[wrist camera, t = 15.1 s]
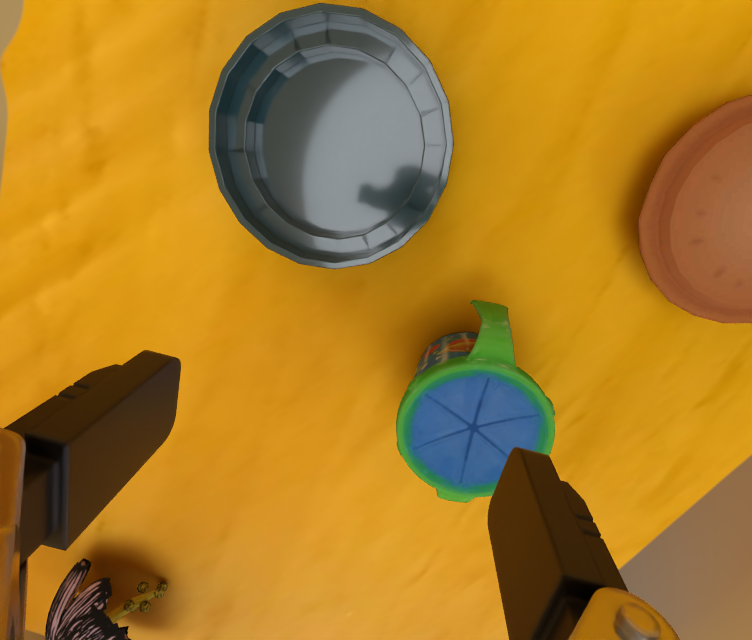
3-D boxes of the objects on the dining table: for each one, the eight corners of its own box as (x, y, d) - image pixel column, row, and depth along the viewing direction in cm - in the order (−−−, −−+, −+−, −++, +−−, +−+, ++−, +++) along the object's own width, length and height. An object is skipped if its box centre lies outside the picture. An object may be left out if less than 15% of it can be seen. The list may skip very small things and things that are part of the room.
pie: (574, 229, 36) (597, 239, 31) (742, 43, 31) (800, 22, 26) (715, 345, 38) (757, 371, 33) (894, 187, 33) (972, 192, 28)
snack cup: (488, 458, 43) (508, 543, 34) (379, 427, 43) (368, 503, 34) (554, 305, 38) (600, 353, 28) (430, 269, 38) (434, 305, 28)
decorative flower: (-26, 606, 41) (97, 709, 38) (92, 505, 50) (201, 580, 47) (16, 664, 50) (119, 753, 46) (110, 569, 59) (204, 637, 55)
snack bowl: (330, -34, 32) (316, -64, 28) (495, 144, 34) (505, 142, 30) (191, 153, 37) (162, 152, 32) (345, 296, 39) (337, 312, 35)
